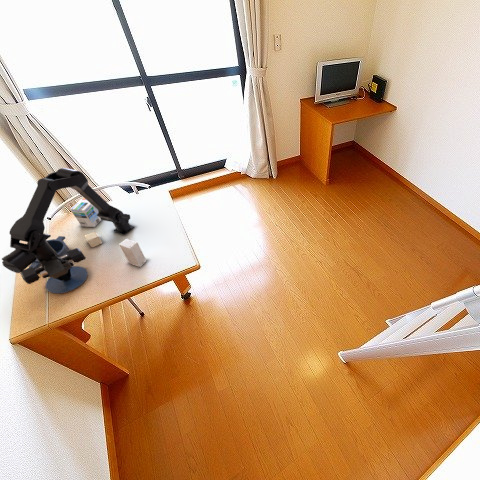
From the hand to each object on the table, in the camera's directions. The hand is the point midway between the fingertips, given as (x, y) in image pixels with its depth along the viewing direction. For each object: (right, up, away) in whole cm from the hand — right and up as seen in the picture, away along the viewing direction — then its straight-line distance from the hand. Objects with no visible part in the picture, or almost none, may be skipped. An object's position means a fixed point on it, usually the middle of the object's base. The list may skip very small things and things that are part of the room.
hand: (66, 278), depth 114 cm
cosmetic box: (+22, +6, +12) cm, 26 cm away
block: (-2, +14, +17) cm, 22 cm away
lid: (0, -1, +1) cm, 1 cm away
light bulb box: (-11, +26, +28) cm, 39 cm away
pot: (-12, +7, +8) cm, 16 cm away
